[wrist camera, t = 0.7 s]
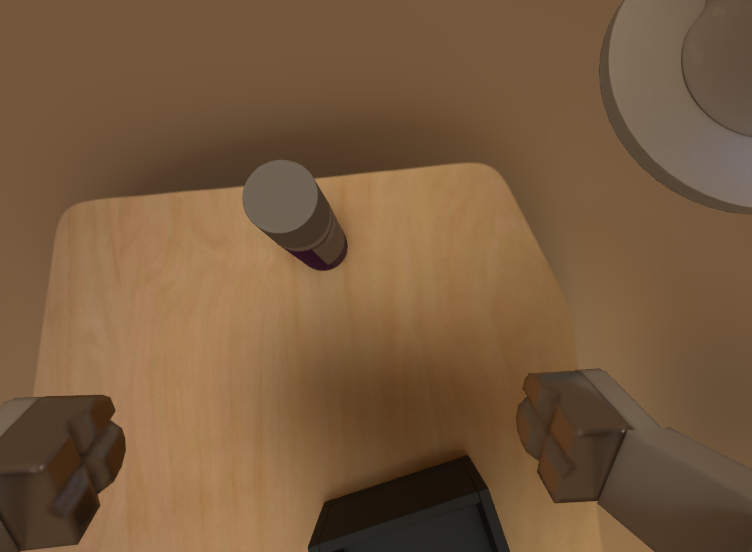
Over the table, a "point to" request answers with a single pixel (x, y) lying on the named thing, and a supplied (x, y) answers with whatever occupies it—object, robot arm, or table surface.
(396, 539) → the tub
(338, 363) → the table surface
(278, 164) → the container
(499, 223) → the table surface
